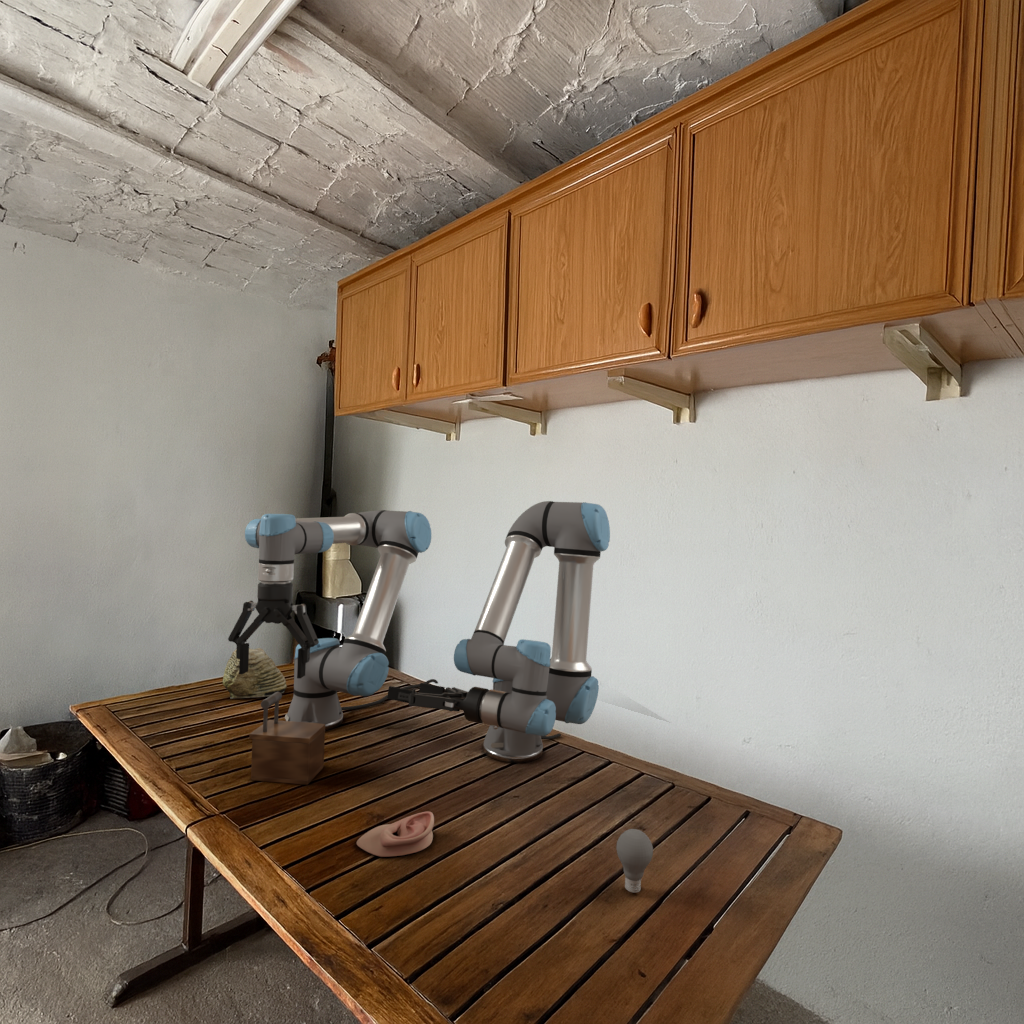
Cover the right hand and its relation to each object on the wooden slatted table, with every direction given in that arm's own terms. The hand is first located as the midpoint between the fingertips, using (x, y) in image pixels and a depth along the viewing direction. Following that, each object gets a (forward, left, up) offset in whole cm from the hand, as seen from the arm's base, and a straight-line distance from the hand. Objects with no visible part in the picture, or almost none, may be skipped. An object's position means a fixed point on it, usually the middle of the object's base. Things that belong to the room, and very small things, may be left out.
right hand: (405, 690), depth 149 cm
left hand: (+29, -6, +4) cm, 30 cm away
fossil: (+35, -65, -19) cm, 76 cm away
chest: (+25, -4, -19) cm, 32 cm away
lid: (+26, -4, -10) cm, 28 cm away
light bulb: (-28, +57, -19) cm, 66 cm away
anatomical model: (+7, +31, -19) cm, 37 cm away
